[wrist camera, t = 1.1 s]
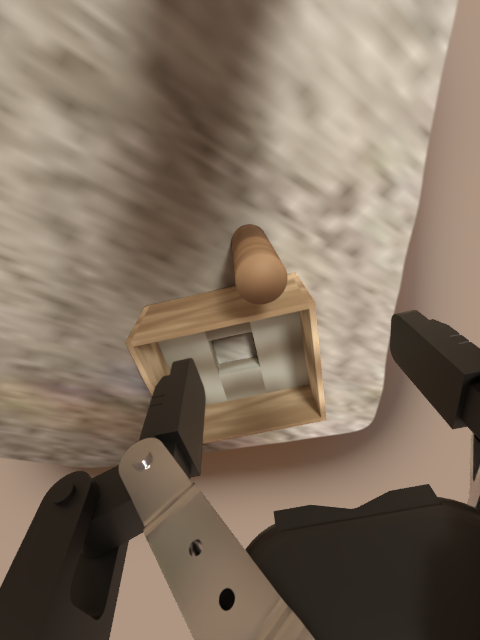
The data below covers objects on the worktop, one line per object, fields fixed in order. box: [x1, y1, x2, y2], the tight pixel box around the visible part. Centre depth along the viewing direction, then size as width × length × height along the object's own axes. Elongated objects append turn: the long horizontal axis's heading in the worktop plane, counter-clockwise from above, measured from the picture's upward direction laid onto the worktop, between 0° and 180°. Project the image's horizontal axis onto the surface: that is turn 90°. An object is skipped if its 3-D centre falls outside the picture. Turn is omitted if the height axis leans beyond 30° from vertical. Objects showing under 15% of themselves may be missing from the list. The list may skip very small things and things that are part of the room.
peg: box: [232, 224, 288, 305], centre depth 23 cm, size 3×3×10 cm
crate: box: [125, 272, 326, 444], centre depth 30 cm, size 14×16×7 cm
